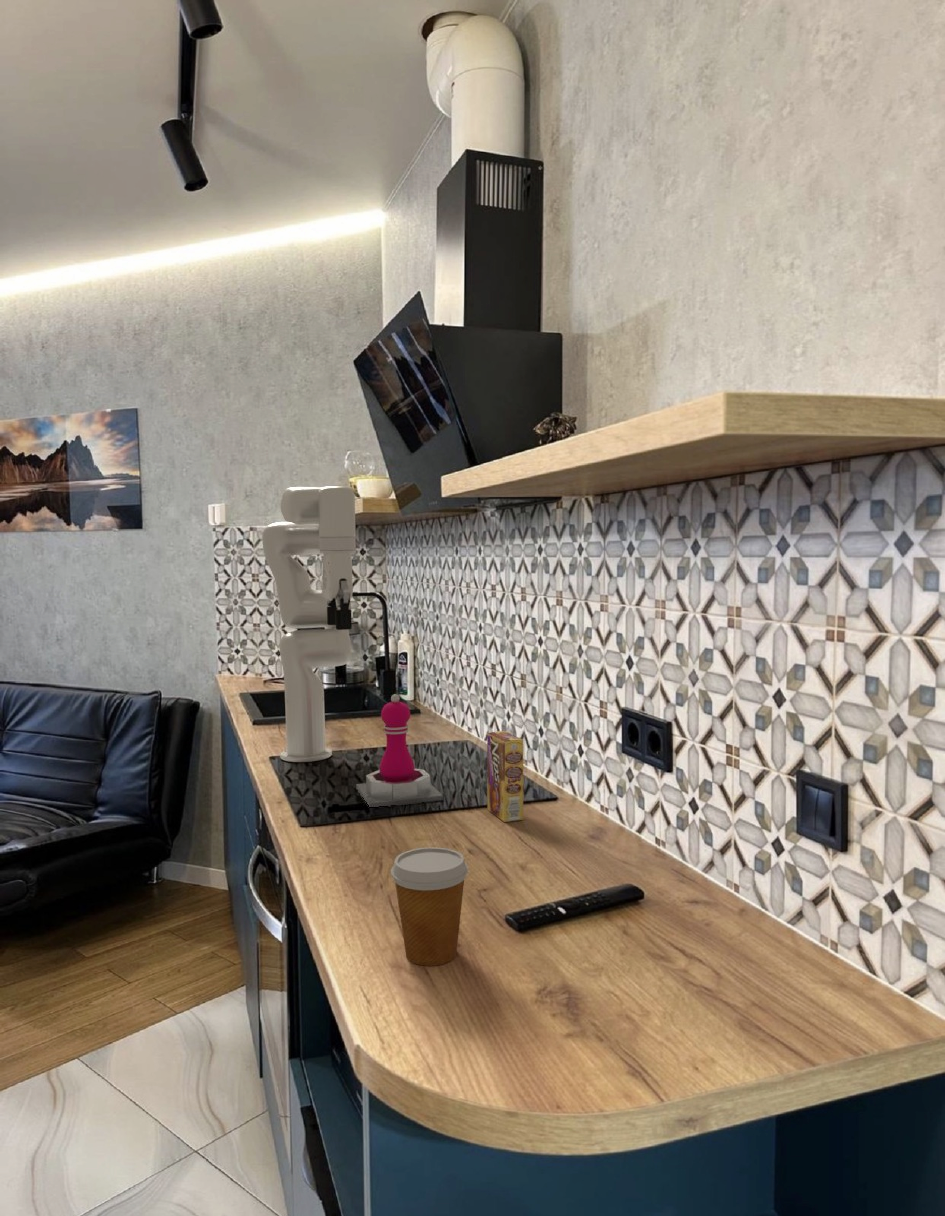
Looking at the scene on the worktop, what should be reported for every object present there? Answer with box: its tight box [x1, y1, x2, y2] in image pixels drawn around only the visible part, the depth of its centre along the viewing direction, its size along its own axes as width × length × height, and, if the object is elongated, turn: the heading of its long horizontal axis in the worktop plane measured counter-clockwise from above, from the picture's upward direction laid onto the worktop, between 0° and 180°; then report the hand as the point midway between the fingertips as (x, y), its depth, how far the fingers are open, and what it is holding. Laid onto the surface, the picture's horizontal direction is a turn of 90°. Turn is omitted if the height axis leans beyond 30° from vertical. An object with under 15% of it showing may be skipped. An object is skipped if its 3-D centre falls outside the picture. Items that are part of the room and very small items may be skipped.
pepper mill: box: [379, 693, 416, 783], centre depth 173 cm, size 7×7×20 cm
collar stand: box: [355, 768, 444, 808], centre depth 174 cm, size 15×15×4 cm
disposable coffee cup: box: [390, 846, 469, 967], centre depth 103 cm, size 10×10×12 cm
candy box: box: [486, 730, 525, 823], centre depth 159 cm, size 9×4×15 cm, turn 20°
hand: (339, 627), depth 177 cm, fingers open, 9 cm apart
